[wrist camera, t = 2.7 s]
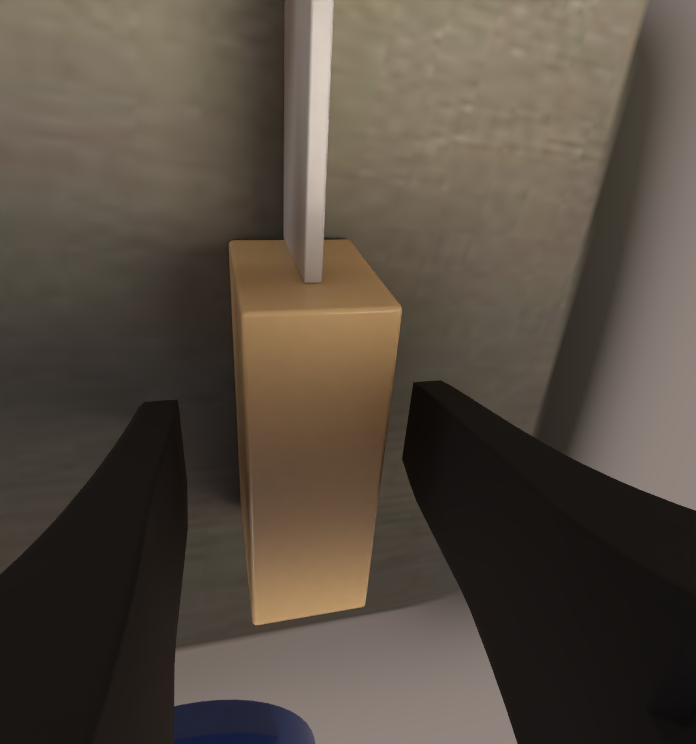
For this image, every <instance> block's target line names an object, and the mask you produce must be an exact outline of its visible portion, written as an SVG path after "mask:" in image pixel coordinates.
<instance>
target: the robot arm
mask: <svg viewBox="0 0 696 744" xmlns="http://www.w3.org/2000/svg"><path fill="white" fill-rule="evenodd" d="M402 460H403V463H404V466H405V469H406V472H407V475H408V479H409V482H410V484H411V487H412V490H413V493H414V496H415V498H416V501H417V503H418V505H419V507H420V509H421V511H422V513H423V515H424V517H425V519H426V521H427V523H428V525H429V527H430V529H431V531H432V533H433V535H434V537H435V539H436V541H437V543H438V545H439V547H440V549H441V551H442V553H443V555H444V557H445V559H446V561H447V563H448V565H449V567H450V569H451V571H452V573H453V575H454V577H455V579H456V581H457V583H458V585H459V587H460V589H461V591H462V593H463V595H464V598H465V600H466V602H467V604H468V606H469V608H470V611H471V614H472V616H473V619H474V621H475V624H476V626H477V629H478V632H479V635H480V637H481V639H482V642H483V645H484V648H485V650H486V653H487V656H488V658H489V661H490V664H491V667H492V669H493V672H494V675H495V678H496V681H497V683H498V686H499V689H500V692H501V695H502V698H503V701H504V704H505V706H506V709H507V712H508V716H509V719H510V722H511V724H512V728H513V731H514V734H515V737H516V740H517V743H518V744H696V511H695V510H692V509H689V508H686V507H683V506H681V505H678V504H675V503H673V502H670V501H667V500H665V499H662V498H660V497H657V496H654V495H652V494H649V493H647V492H644V491H642V490H639V489H637V488H634V487H632V486H629V485H627V484H625V483H623V482H620V481H618V480H616V479H614V478H611V477H609V476H607V475H605V474H603V473H601V472H599V471H597V470H594V469H592V468H590V467H588V466H586V465H583V464H582V463H580V462H578V461H576V460H573V459H572V458H570V457H568V456H566V455H564V454H562V453H561V452H559V451H557V450H555V449H554V448H552V447H550V446H548V445H546V444H544V443H543V442H541V441H539V440H537V439H536V438H534V437H532V436H531V435H529V434H527V433H525V432H524V431H522V430H521V429H519V428H517V427H516V426H514V425H512V424H511V423H509V422H507V421H506V420H504V419H503V418H501V417H499V416H498V415H496V414H495V413H493V412H492V411H490V410H488V409H487V408H485V407H484V406H482V405H481V404H479V403H478V402H476V401H474V400H473V399H471V398H470V397H468V396H467V395H465V394H463V393H462V392H460V391H459V390H457V389H455V388H454V387H452V386H450V385H448V384H446V383H445V382H443V381H441V380H439V381H426V382H413V389H412V396H411V403H410V409H409V416H408V423H407V430H406V436H405V443H404V450H403V457H402ZM187 529H188V517H187V477H186V468H185V459H184V450H183V442H182V433H181V424H180V415H179V406H178V400H166V401H152V402H144V403H143V404H142V405H141V406H140V407H139V408H138V409H137V411H136V413H135V414H134V416H133V418H132V419H131V421H130V423H129V424H128V426H127V427H126V429H125V431H124V432H123V434H122V435H121V437H120V438H119V440H118V441H117V443H116V444H115V446H114V447H113V448H112V450H111V451H110V452H109V454H108V455H107V457H106V458H105V459H104V461H103V462H102V463H101V465H100V466H99V468H98V469H97V470H96V472H95V473H94V474H93V476H92V477H91V478H90V479H89V481H88V482H87V483H86V484H85V485H84V487H83V488H82V489H81V490H80V492H79V493H78V494H77V495H76V496H75V498H74V499H73V500H72V501H71V502H70V504H69V505H68V506H67V507H66V508H65V510H64V511H63V512H62V513H61V514H60V515H59V516H58V517H57V518H56V520H55V521H54V522H53V523H52V524H51V525H50V526H49V527H48V528H47V529H46V530H45V531H44V533H43V534H42V535H41V536H40V537H39V538H38V539H37V540H36V541H35V542H34V543H33V544H32V545H31V546H30V547H29V548H28V549H27V550H26V551H25V552H24V553H23V554H22V555H21V556H20V557H19V558H18V559H17V560H16V561H14V562H13V563H12V564H11V565H10V566H9V567H8V568H7V569H6V570H5V571H4V572H2V573H1V574H0V744H174V663H175V647H176V634H177V625H178V615H179V606H180V596H181V587H182V578H183V568H184V559H185V549H186V539H187Z"/></svg>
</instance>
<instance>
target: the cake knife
mask: <svg viewBox="0 0 696 744" xmlns="http://www.w3.org/2000/svg"><path fill="white" fill-rule="evenodd" d="M333 14H334V0H285V47H284V240H232V241H230V242H229V262H230V283H231V304H232V326H233V347H234V368H235V389H236V410H237V431H238V453H239V474H240V495H241V512H242V522H243V532H244V543H245V553H246V563H247V573H248V583H249V593H250V603H251V614H252V622H253V624H254V625H261V624H267V623H273V622H278V621H284V620H290V619H296V618H302V617H307V616H313V615H319V614H325V613H331V612H336V611H342V610H348V609H354V608H360V607H363V606H365V602H366V594H367V586H368V578H369V570H370V562H371V554H372V546H373V538H374V530H375V522H376V515H377V507H378V499H379V491H380V483H381V475H382V467H383V459H384V451H385V443H386V435H387V427H388V419H389V411H390V403H391V396H392V388H393V380H394V372H395V364H396V356H397V348H398V340H399V332H400V324H401V316H402V307H401V305H400V304H399V303H398V301H397V300H396V299H395V298H394V296H393V295H392V294H391V292H390V291H389V290H388V289H387V287H386V286H385V285H384V283H383V282H382V281H381V280H380V278H379V277H378V276H377V275H376V273H375V272H374V271H373V269H372V268H371V267H370V266H369V264H368V263H367V262H366V260H365V259H364V258H363V257H362V255H361V254H360V253H359V251H358V250H357V249H356V248H355V246H354V245H353V244H352V242H351V241H350V240H347V239H340V240H324V222H325V199H326V176H327V153H328V130H329V107H330V83H331V60H332V37H333Z"/></svg>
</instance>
